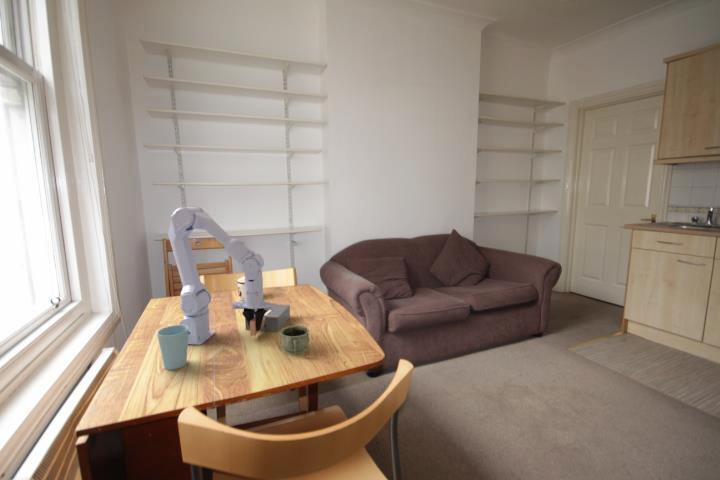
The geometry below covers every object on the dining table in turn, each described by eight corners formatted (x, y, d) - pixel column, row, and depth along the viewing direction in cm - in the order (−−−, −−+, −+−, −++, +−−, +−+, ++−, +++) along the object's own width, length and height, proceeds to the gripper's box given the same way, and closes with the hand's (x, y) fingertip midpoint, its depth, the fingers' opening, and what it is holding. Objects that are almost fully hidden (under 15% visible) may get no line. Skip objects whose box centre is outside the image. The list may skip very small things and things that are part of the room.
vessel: (281, 342, 109) (281, 324, 108) (308, 340, 111) (308, 322, 110) (280, 360, 97) (279, 339, 96) (310, 357, 99) (310, 337, 98)
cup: (171, 357, 98) (168, 324, 96) (196, 358, 97) (194, 325, 96) (153, 371, 90) (150, 335, 89) (180, 372, 90) (178, 336, 88)
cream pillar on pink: (254, 336, 110) (254, 321, 109) (250, 336, 110) (249, 321, 109) (275, 315, 130) (275, 302, 129) (271, 315, 130) (271, 302, 129)
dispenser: (277, 331, 117) (277, 316, 116) (245, 330, 118) (244, 314, 118) (289, 317, 131) (289, 302, 131) (260, 315, 132) (260, 301, 132)
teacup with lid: (237, 296, 158) (236, 272, 156) (257, 294, 161) (256, 271, 159) (237, 304, 146) (236, 278, 145) (259, 302, 149) (258, 277, 148)
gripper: (279, 288, 114) (280, 326, 116) (238, 286, 115) (240, 324, 117) (271, 294, 107) (273, 334, 109) (228, 292, 108) (230, 332, 110)
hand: (255, 329), depth 112 cm, fingers closed on cream pillar on pink, 2 cm apart
